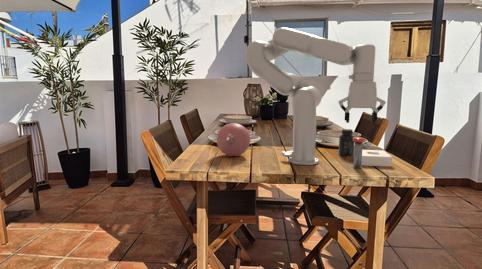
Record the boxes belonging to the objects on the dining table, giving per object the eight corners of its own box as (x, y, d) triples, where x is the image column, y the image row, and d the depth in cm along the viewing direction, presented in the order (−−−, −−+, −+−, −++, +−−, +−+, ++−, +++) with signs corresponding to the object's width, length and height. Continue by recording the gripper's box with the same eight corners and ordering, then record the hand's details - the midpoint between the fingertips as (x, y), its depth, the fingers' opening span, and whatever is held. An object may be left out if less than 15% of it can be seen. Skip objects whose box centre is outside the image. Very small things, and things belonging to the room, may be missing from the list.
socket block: (360, 165, 130) (360, 155, 129) (355, 158, 142) (355, 149, 141) (391, 166, 128) (392, 157, 127) (383, 159, 140) (384, 150, 139)
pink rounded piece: (208, 161, 137) (207, 126, 134) (223, 151, 156) (222, 120, 153) (242, 163, 132) (242, 127, 130) (253, 153, 151) (253, 121, 149)
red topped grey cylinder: (352, 169, 125) (353, 139, 123) (350, 165, 129) (351, 137, 127) (364, 169, 124) (366, 139, 122) (361, 166, 128) (363, 137, 126)
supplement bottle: (356, 154, 148) (357, 129, 146) (349, 157, 143) (351, 131, 141) (342, 152, 153) (343, 128, 151) (335, 155, 148) (337, 129, 146)
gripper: (340, 78, 118) (338, 123, 121) (389, 78, 115) (386, 124, 118) (338, 78, 125) (336, 121, 128) (384, 78, 123) (381, 121, 126)
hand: (360, 122), depth 123 cm, fingers open, 9 cm apart
